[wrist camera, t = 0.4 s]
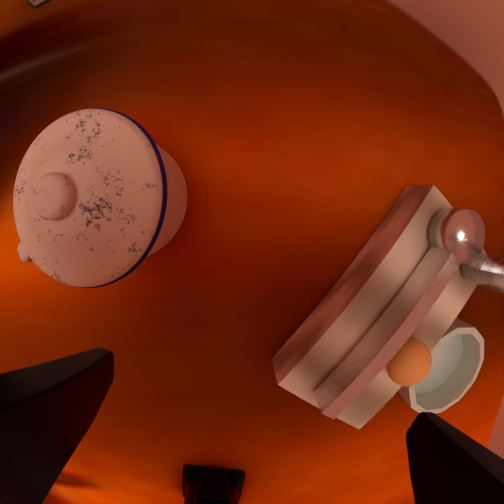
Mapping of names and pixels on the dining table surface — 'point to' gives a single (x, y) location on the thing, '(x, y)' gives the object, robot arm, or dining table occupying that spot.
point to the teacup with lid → (96, 198)
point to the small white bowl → (448, 370)
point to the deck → (371, 306)
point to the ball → (410, 363)
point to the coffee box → (37, 2)
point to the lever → (414, 303)
